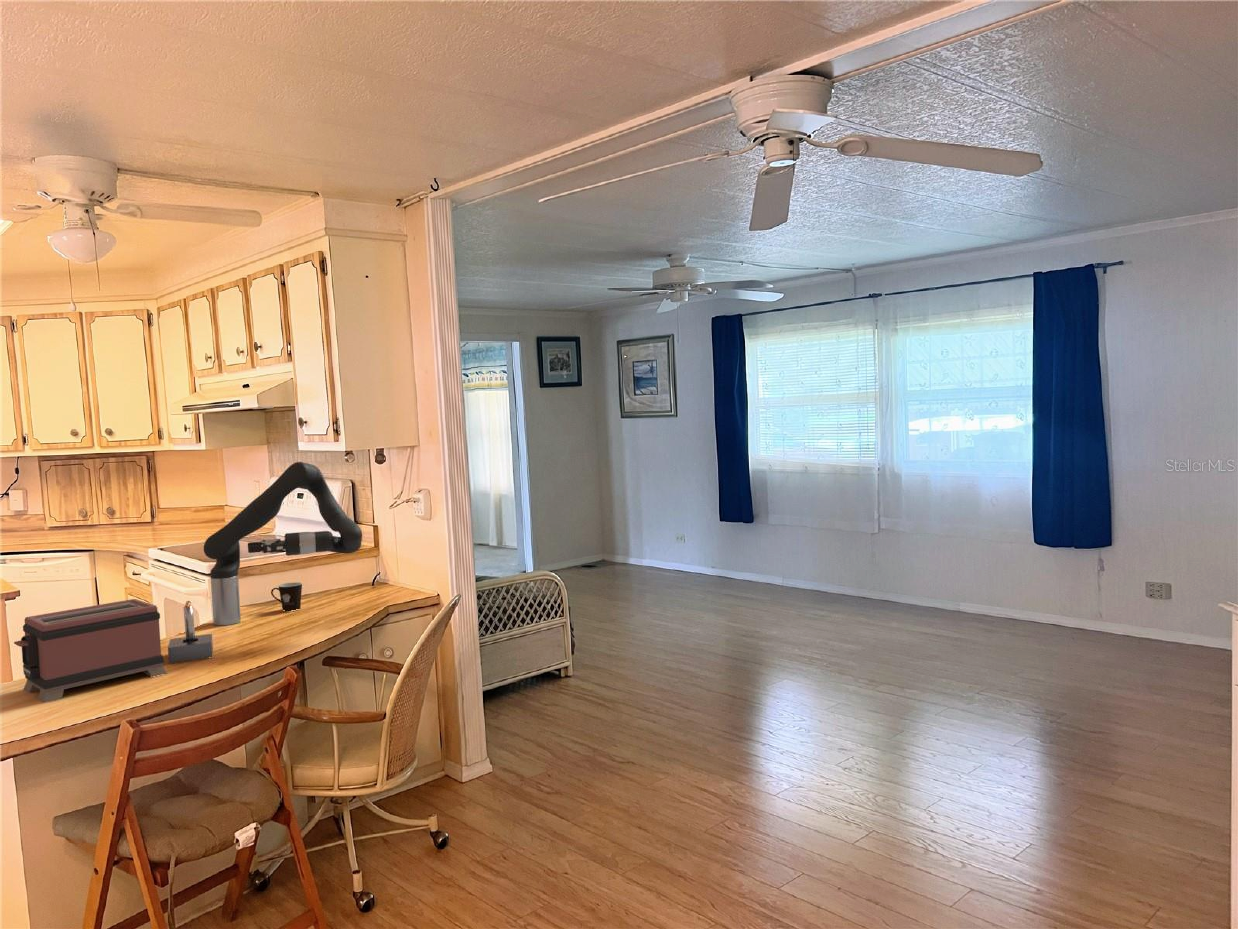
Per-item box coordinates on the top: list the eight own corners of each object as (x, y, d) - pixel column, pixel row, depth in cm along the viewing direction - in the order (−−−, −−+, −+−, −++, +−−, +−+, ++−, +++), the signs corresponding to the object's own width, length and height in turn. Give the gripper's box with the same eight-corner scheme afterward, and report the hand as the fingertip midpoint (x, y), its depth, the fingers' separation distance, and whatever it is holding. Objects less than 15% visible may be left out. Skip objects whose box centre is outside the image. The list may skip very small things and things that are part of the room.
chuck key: (187, 651, 268) (183, 601, 267) (196, 650, 269) (192, 600, 268) (186, 655, 263) (182, 605, 262) (195, 654, 264) (191, 604, 263)
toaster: (10, 692, 235) (5, 619, 234) (142, 663, 261) (138, 597, 260) (31, 706, 223) (25, 629, 222) (167, 674, 248) (163, 605, 247)
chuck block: (171, 654, 270) (170, 638, 269) (212, 648, 275) (212, 633, 274) (168, 663, 259) (167, 647, 258) (212, 658, 264) (211, 642, 263)
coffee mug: (308, 608, 330) (306, 583, 330) (289, 613, 323) (287, 587, 323) (289, 606, 337) (287, 581, 336) (270, 610, 329) (268, 585, 329)
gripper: (298, 530, 291) (246, 534, 284) (301, 534, 278) (247, 539, 271) (299, 551, 291) (248, 556, 284) (302, 557, 278) (248, 562, 272)
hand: (247, 547), depth 278 cm, fingers open, 8 cm apart
